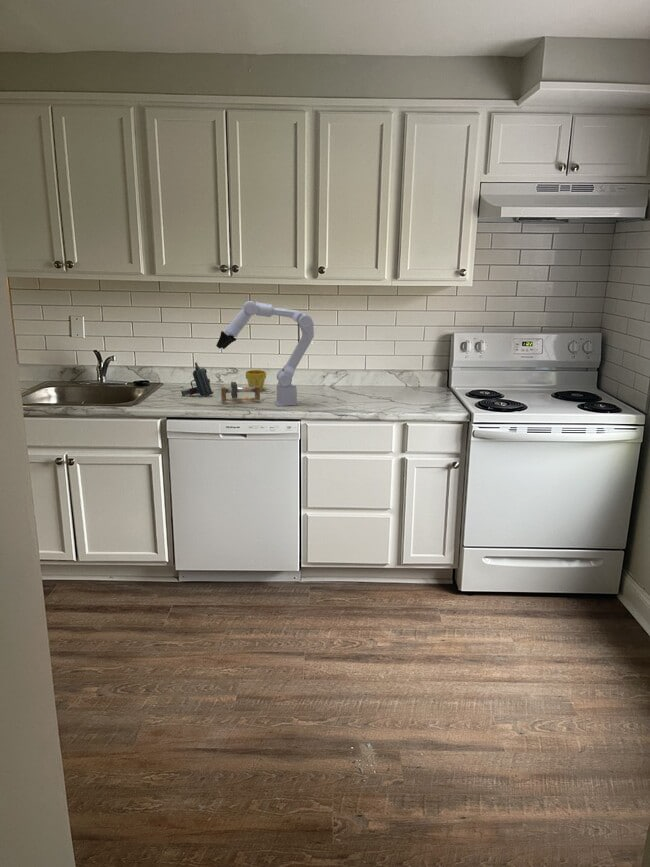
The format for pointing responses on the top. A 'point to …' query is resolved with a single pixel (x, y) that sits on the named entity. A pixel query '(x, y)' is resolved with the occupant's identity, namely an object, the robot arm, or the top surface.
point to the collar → (234, 389)
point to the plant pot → (256, 378)
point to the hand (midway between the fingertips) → (220, 347)
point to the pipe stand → (240, 400)
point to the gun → (199, 383)
